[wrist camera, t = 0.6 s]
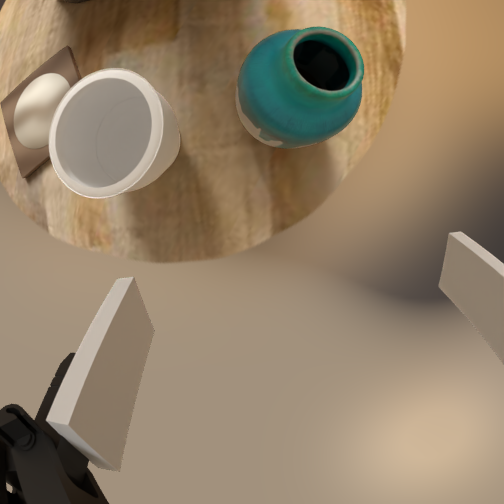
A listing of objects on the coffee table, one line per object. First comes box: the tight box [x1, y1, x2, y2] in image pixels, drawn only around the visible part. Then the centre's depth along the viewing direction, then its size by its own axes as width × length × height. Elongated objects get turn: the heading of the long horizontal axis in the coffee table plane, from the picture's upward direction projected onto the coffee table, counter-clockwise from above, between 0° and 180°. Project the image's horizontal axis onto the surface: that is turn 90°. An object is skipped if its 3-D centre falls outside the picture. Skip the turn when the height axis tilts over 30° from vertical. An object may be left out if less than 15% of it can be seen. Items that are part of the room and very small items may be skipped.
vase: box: [235, 27, 364, 149], centre depth 24 cm, size 11×11×19 cm
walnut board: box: [0, 46, 81, 178], centre depth 29 cm, size 14×14×1 cm
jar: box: [49, 68, 180, 198], centre depth 26 cm, size 11×10×15 cm
